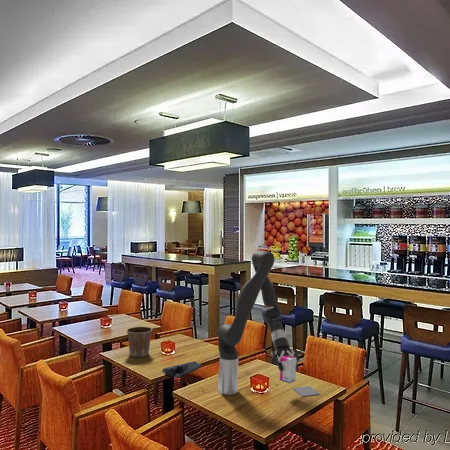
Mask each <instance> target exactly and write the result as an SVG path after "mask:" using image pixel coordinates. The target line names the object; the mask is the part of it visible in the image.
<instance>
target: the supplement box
mask: <svg viewBox="0 0 450 450" xmlns="http://www.w3.org/2000/svg"><path fill="white" fill-rule="evenodd" d="M281 363H282V367H283V371H282V372H281V371H280V370H279V371H280V372H279V381H282V382H284V383H287V384H291V383H293V382H295V381H296V375H297V374H296V372H297V371H296V357H292V356H289V355H287V356H283V357H281Z"/></svg>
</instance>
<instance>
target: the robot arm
mask: <svg viewBox="0 0 450 450" xmlns="http://www.w3.org/2000/svg"><path fill="white" fill-rule="evenodd" d="M274 255H275V254H273V253H272V252H271V251H266V250H265V251H264V250H255V251H254V252H253V254H252V255H251V263H252V266H253V270H254V272H255V274H254V275H253V276H252V277H251V278H250V279H249V280H248V281H246V282H245V284H243V286H242V287H241V289H240V291H239V294H238V295H237V298H236V303H235V304H236V306H235V315H234V319H233V320H232V323H231V324H229V323H226V324H223V325H221V326H220V328H219V330H218V336H217V337H218V338H217V340H218V341H217V342H218V345H217V346H218V353H219V371H218V373H217V375H218V376H217V377H218V379H217V381H218V382H217V390H218V392H219V393H220V394H221V395H225V396H227V395H228V396H231V395H235V394H237V393H238V392H239V391H238V390H239V389H238V388H239V387H238V386H239V350H237V347H236V346H237V345H238V344H239V343H240V342H241V340H242V337H243V334H244V331H245V328H246V325H247V322H248V320H249V316H250V315H251V312H252V310H253V308H254V306H255V303H256V301H257V298H258V297H259V294H260V292H261V297H262V302H263V303H262V304H264V305H266V306H269V307H264V308H263V309H262V311H261V317H262V319H263V320H264V321H265V322H266V323H265V324H267V327H268V328H269V332H270V334H271V340H272V343H273V347H274V350H271V352H270V356H271V360H272V364H273V365H275V364H276V365H277V368H278V371H281V372H282V371H283V367H282V363H281V357H283V356H287V355H289V356H292V357H296V372H297V371H298V370H299V365H298V363H299V361H300V355H299V353H298V350H297V349H294V350H292V349H291V347H290V344H289V343H290V342H289V340H288V338H287V335H286V332H285V330H284V326H283V324H282V322H281V321H280V320H279V319H281V317H282V310H281V309H280V306H279V304H278V302H277V298H276V293H275V288H274V286H273V283H272V281H271V280H270V278H269V276H268V275H269V274H270V271H271V270H272V268H273V266H274V264H275V256H274ZM277 356H278V358H277Z"/></svg>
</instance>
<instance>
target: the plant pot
mask: <svg viewBox="0 0 450 450" xmlns="http://www.w3.org/2000/svg"><path fill="white" fill-rule="evenodd" d="M152 331H153V328H152V327H149V326H133V327H130V328H126V333H127V339H128V340H127V341H128V350H129V351H128V352H129V356H130V357H131V358H136V357H137V358H145V357H147V356H149V354H150V347H151V346H150V344H151V336H152Z"/></svg>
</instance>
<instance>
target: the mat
mask: <svg viewBox="0 0 450 450" xmlns="http://www.w3.org/2000/svg"><path fill="white" fill-rule="evenodd" d="M292 390H293V391H294V392H295V393H297V394H298V395H300V396H301V397H303V398H305V397H311V396H313V397H314V396H319V395H320V396H321V393H320V392H318V391H317V390H316V389H314V388H313V387H312V386H310V385H308V386H301V387H293V388H292Z"/></svg>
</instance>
